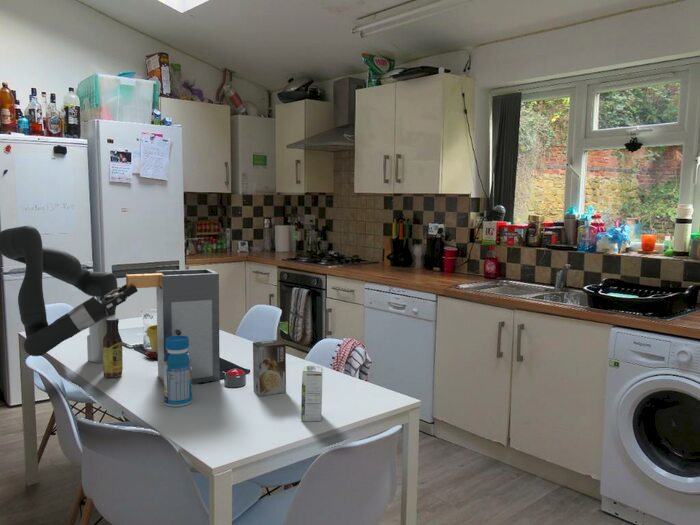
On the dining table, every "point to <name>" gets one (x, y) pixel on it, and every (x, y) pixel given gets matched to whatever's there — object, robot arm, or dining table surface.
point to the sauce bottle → (112, 350)
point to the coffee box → (269, 367)
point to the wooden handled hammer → (145, 280)
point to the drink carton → (311, 393)
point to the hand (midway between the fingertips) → (134, 285)
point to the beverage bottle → (177, 372)
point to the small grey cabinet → (190, 319)
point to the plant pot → (153, 337)
